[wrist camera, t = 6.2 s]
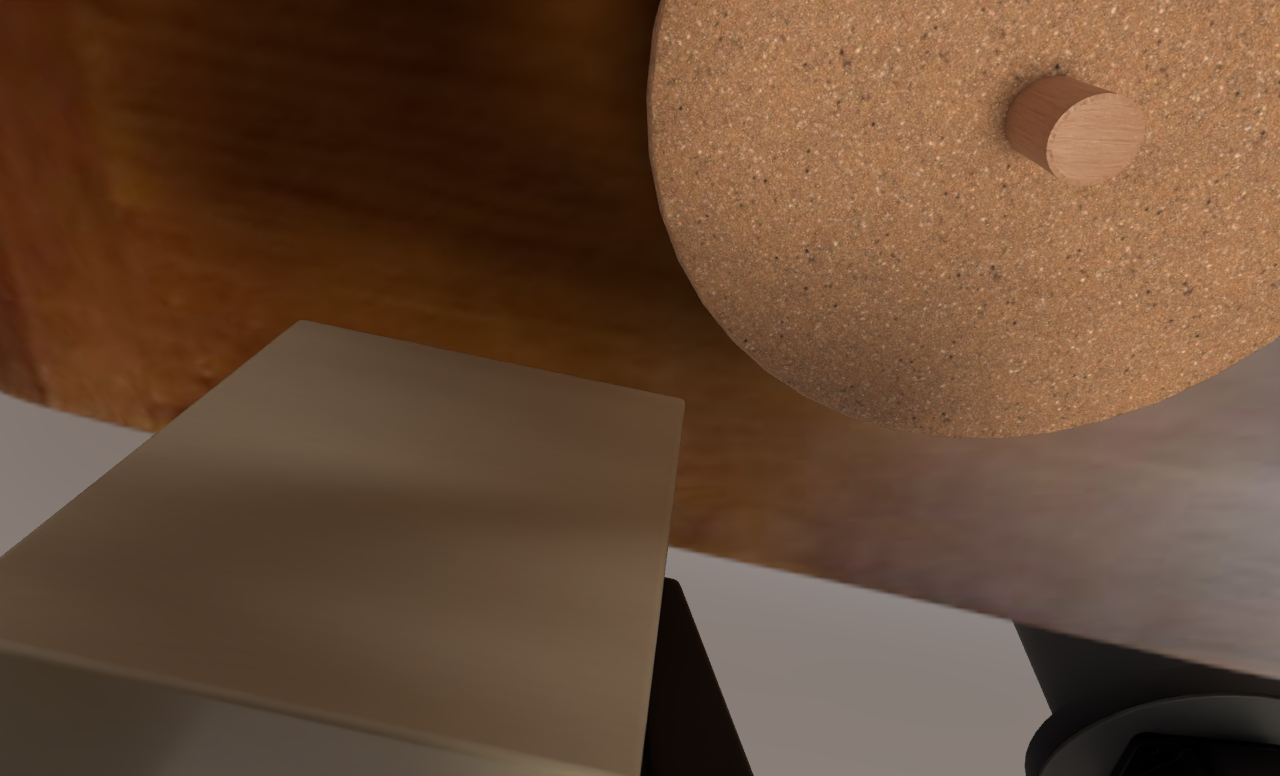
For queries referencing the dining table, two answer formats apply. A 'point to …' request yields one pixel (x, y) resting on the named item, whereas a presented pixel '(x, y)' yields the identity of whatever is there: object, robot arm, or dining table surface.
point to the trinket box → (975, 198)
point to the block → (352, 577)
